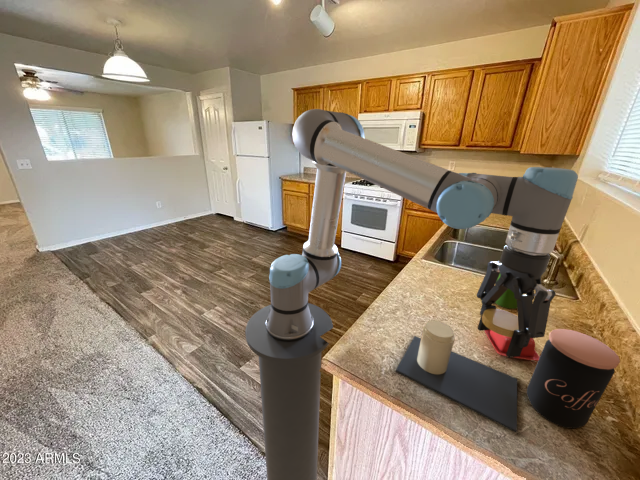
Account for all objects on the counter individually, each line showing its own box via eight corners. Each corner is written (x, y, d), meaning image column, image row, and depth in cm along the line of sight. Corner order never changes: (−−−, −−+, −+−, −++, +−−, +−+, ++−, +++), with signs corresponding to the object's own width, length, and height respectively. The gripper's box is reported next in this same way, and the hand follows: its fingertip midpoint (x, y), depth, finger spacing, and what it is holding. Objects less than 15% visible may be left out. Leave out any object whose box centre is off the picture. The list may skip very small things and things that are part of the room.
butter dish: (542, 365, 72) (553, 340, 69) (496, 358, 74) (505, 334, 71) (520, 336, 83) (529, 314, 80) (481, 331, 85) (488, 309, 82)
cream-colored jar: (413, 365, 70) (420, 330, 66) (421, 348, 76) (428, 315, 72) (443, 379, 66) (452, 343, 62) (449, 360, 72) (458, 326, 68)
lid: (533, 336, 55) (535, 329, 55) (500, 339, 54) (502, 332, 54) (503, 313, 63) (505, 307, 62) (473, 315, 61) (475, 309, 61)
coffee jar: (527, 414, 59) (554, 351, 53) (522, 380, 67) (545, 322, 61) (591, 442, 54) (630, 375, 47) (578, 401, 62) (609, 340, 56)
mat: (395, 371, 69) (396, 369, 69) (414, 337, 81) (414, 335, 81) (516, 432, 55) (516, 430, 55) (516, 380, 67) (517, 378, 67)
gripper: (473, 232, 61) (453, 315, 69) (564, 274, 42) (522, 381, 50) (501, 231, 62) (479, 312, 70) (602, 271, 43) (555, 377, 51)
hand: (497, 341), depth 60 cm, fingers closed on lid, 8 cm apart
